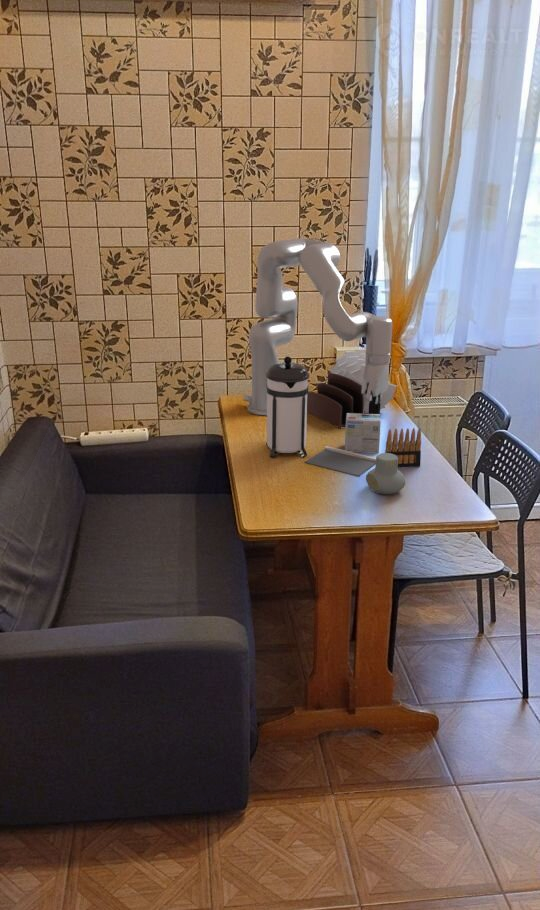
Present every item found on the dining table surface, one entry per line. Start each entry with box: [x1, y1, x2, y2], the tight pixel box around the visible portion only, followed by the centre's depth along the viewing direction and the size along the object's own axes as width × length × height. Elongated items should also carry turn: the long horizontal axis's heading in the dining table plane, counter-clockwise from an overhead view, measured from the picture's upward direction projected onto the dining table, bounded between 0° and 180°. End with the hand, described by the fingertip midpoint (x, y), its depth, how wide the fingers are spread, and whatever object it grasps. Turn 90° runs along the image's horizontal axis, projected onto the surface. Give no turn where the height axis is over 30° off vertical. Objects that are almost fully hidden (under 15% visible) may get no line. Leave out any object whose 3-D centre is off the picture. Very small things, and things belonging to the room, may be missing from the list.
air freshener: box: [365, 452, 406, 495], centre depth 209 cm, size 11×8×10 cm
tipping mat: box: [304, 445, 376, 477], centre depth 229 cm, size 18×13×1 cm
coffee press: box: [265, 356, 310, 459], centre depth 232 cm, size 17×16×30 cm
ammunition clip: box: [384, 427, 422, 469], centre depth 224 cm, size 11×2×12 cm, turn 97°
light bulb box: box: [344, 413, 381, 454], centre depth 237 cm, size 11×7×11 cm, turn 84°
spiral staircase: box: [330, 348, 398, 413], centre depth 275 cm, size 18×18×25 cm
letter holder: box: [307, 372, 364, 429], centre depth 263 cm, size 10×20×14 cm, turn 33°
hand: (374, 414), depth 241 cm, fingers closed
